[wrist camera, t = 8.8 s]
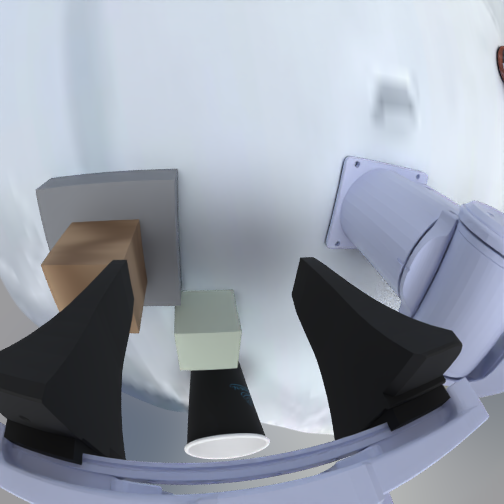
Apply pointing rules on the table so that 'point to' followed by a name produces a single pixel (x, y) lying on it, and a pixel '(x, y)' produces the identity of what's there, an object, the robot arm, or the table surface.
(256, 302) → the table surface
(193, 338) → the sage cube
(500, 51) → the supplement bottle
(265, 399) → the table surface
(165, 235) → the grey square slab
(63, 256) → the walnut cube
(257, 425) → the dixie cup
